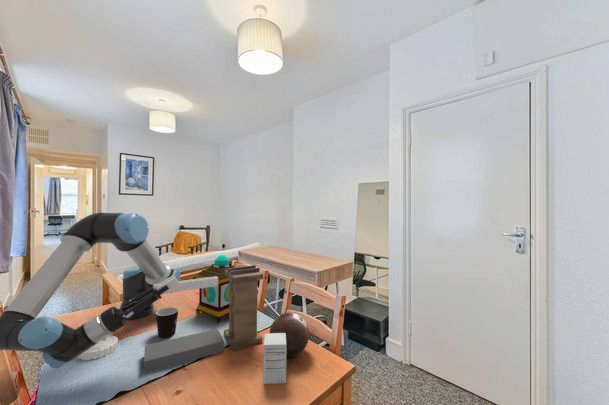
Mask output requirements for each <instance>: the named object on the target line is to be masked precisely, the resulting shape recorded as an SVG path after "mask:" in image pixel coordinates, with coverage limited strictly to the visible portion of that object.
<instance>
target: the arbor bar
mask: <svg viewBox="0 0 609 405" xmlns="http://www.w3.org/2000/svg"><path fill="white" fill-rule="evenodd" d="M178 283H179V284H178V285H176V286H174V287H173V288H171V289H170V290H168V291H167V292H165V293H164V294H163V295H165V294H166V293H168V294H173V293H172V292H174V293H177V292H184V291H191V290H193V291H194V290H199V288H206V287H213V286H218V277H217V276H214V277H206V278H199V277H197V278H191V279H184V280H180V281H178ZM163 284H165V283H159V284H153V292H154V291H155V290H157V288H158V287H160V286H161V285H163Z"/></svg>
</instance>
